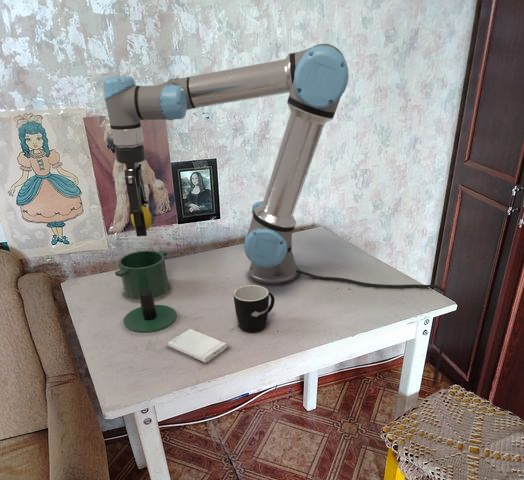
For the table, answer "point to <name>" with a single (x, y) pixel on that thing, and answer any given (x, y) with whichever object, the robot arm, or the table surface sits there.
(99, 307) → the table surface
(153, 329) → the lid
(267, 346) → the table surface
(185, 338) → the hard drive
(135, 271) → the pot
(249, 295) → the mug
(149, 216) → the lemon
